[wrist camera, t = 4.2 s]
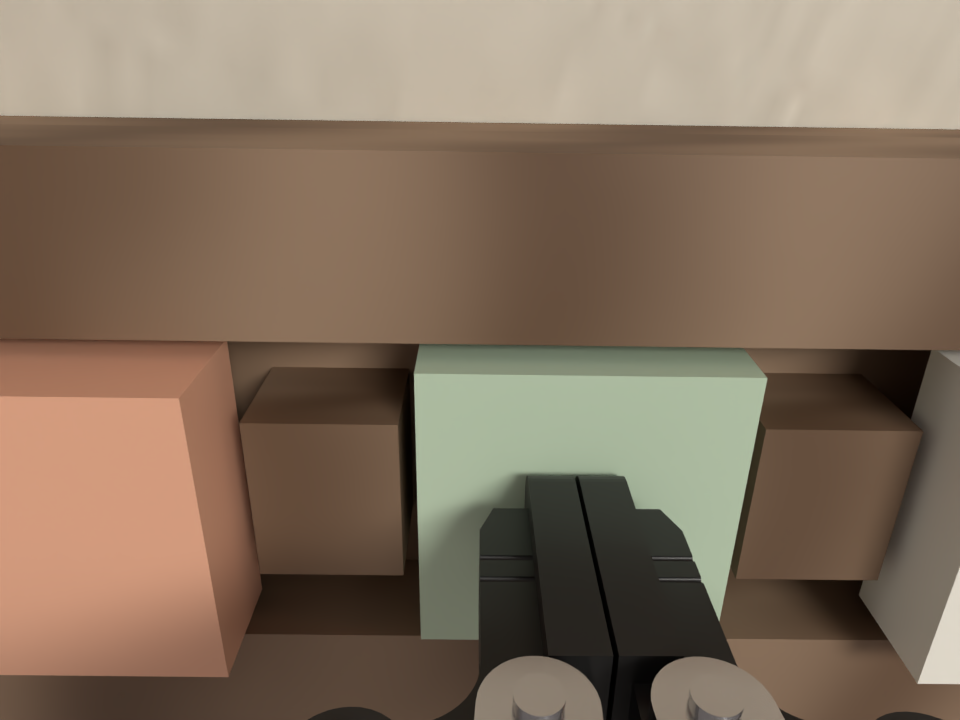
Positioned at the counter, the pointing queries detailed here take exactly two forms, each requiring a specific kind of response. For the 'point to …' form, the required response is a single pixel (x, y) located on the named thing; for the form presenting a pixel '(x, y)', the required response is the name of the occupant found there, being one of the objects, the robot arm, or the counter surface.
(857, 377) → the key board
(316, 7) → the counter surface
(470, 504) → the sage green key
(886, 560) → the ivory key
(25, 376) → the terracotta key
